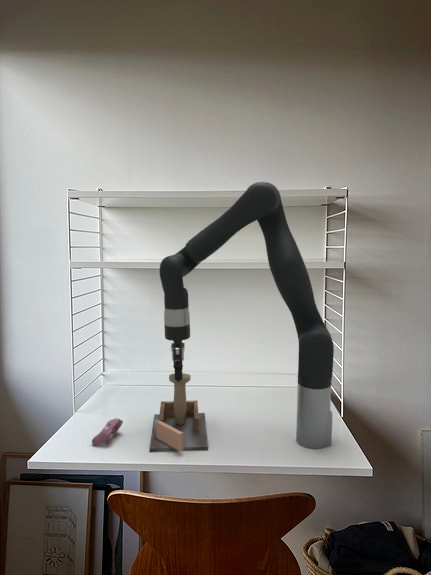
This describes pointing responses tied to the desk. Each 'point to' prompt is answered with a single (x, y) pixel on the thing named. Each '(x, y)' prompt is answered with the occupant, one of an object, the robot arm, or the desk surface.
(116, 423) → the mauve rounded lump
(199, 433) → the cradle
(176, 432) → the gate
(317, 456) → the desk surface
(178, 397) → the handle
